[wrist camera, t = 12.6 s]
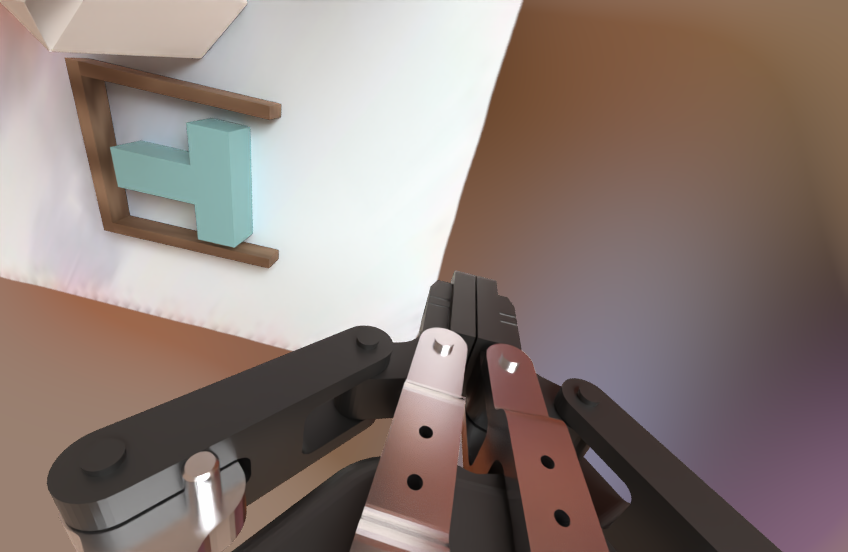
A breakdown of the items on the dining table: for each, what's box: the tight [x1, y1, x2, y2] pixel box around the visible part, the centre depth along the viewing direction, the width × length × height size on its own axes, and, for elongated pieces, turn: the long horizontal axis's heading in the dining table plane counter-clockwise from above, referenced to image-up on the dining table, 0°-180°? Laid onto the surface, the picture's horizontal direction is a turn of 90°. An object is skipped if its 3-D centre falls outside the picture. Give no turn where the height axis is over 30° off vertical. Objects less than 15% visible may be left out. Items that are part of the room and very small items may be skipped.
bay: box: [65, 58, 281, 268], centre depth 40 cm, size 17×19×2 cm
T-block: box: [110, 118, 253, 248], centre depth 39 cm, size 12×12×4 cm
